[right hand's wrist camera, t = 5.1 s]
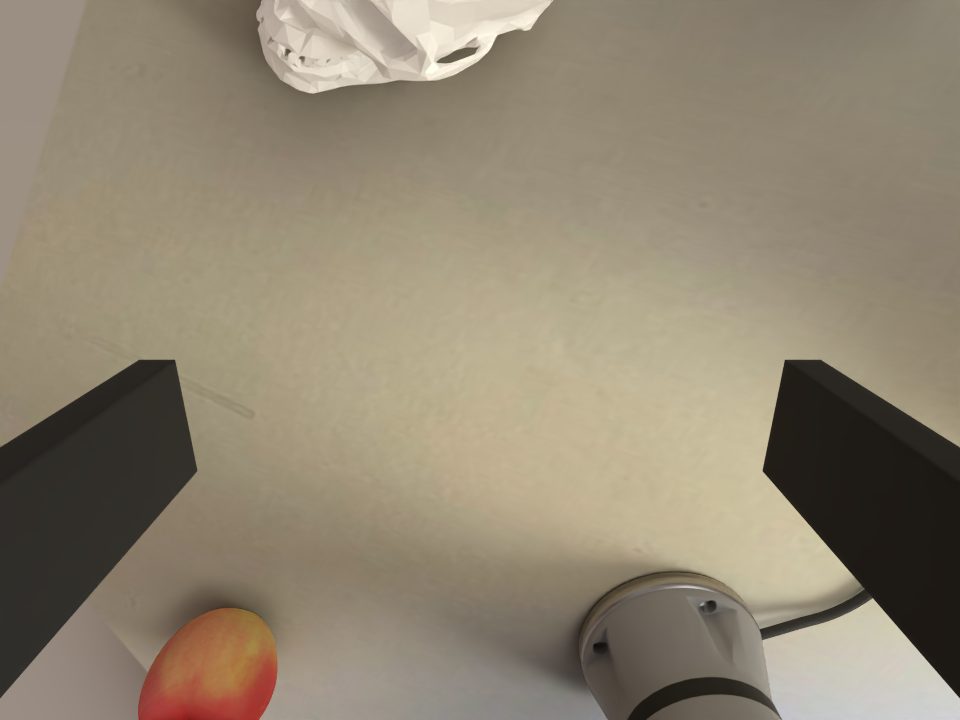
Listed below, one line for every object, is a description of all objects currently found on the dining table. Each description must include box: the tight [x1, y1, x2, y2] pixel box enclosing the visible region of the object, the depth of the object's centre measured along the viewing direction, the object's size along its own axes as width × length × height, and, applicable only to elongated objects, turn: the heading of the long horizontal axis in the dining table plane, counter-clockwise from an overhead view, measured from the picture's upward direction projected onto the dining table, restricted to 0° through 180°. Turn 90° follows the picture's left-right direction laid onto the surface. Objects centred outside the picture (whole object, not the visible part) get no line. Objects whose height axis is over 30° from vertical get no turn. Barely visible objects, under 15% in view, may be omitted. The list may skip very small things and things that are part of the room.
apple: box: [138, 608, 277, 720], centre depth 45 cm, size 10×10×10 cm
